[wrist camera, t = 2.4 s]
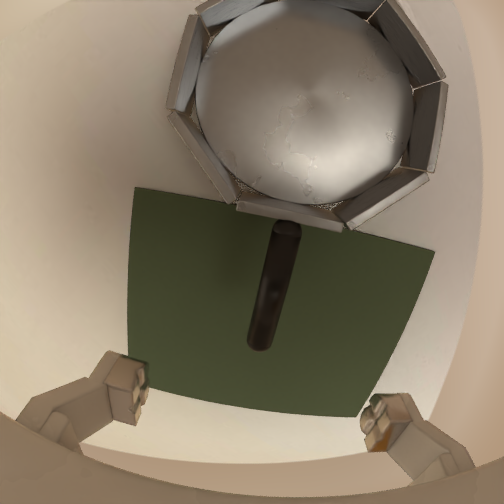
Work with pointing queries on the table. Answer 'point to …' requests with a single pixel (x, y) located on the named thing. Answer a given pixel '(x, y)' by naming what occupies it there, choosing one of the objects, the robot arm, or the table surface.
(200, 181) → the table surface
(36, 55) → the table surface
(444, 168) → the table surface
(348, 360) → the mat
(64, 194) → the table surface
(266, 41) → the octagonal skillet
